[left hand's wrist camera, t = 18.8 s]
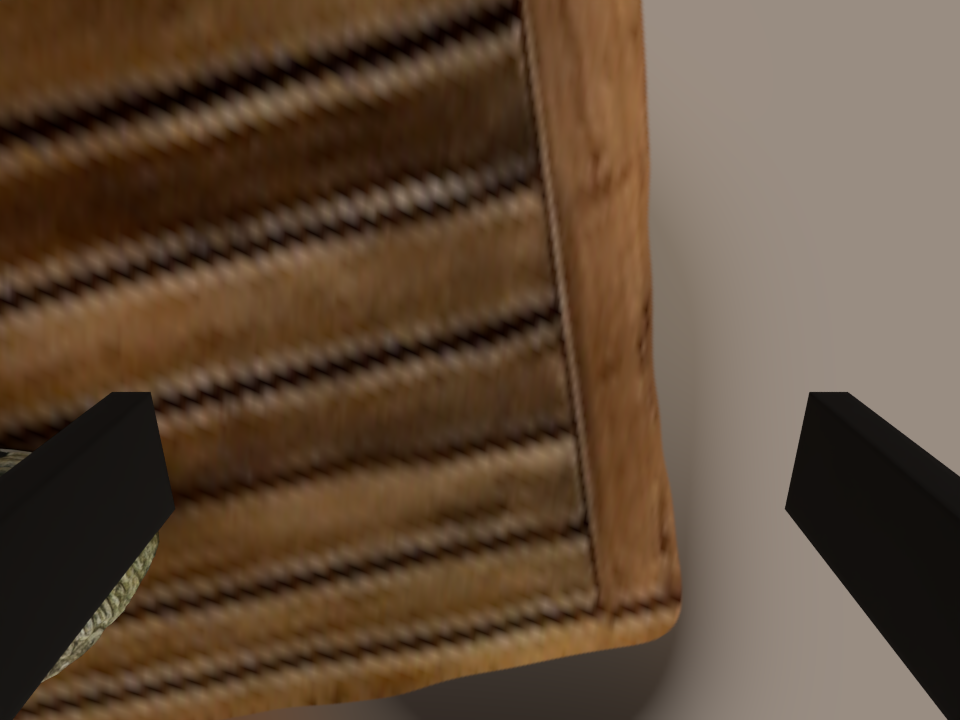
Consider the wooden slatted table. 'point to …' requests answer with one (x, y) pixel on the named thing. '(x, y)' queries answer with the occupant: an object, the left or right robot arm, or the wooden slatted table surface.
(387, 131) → the wooden slatted table surface
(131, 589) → the fossil
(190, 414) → the wooden slatted table surface
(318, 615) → the wooden slatted table surface
